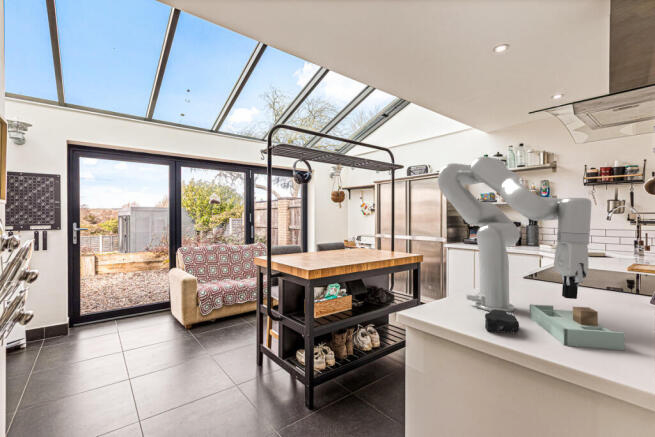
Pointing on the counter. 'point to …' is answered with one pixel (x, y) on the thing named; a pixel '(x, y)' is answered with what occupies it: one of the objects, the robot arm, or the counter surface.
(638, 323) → the counter surface
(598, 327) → the tray
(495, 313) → the rock
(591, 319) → the walnut block
